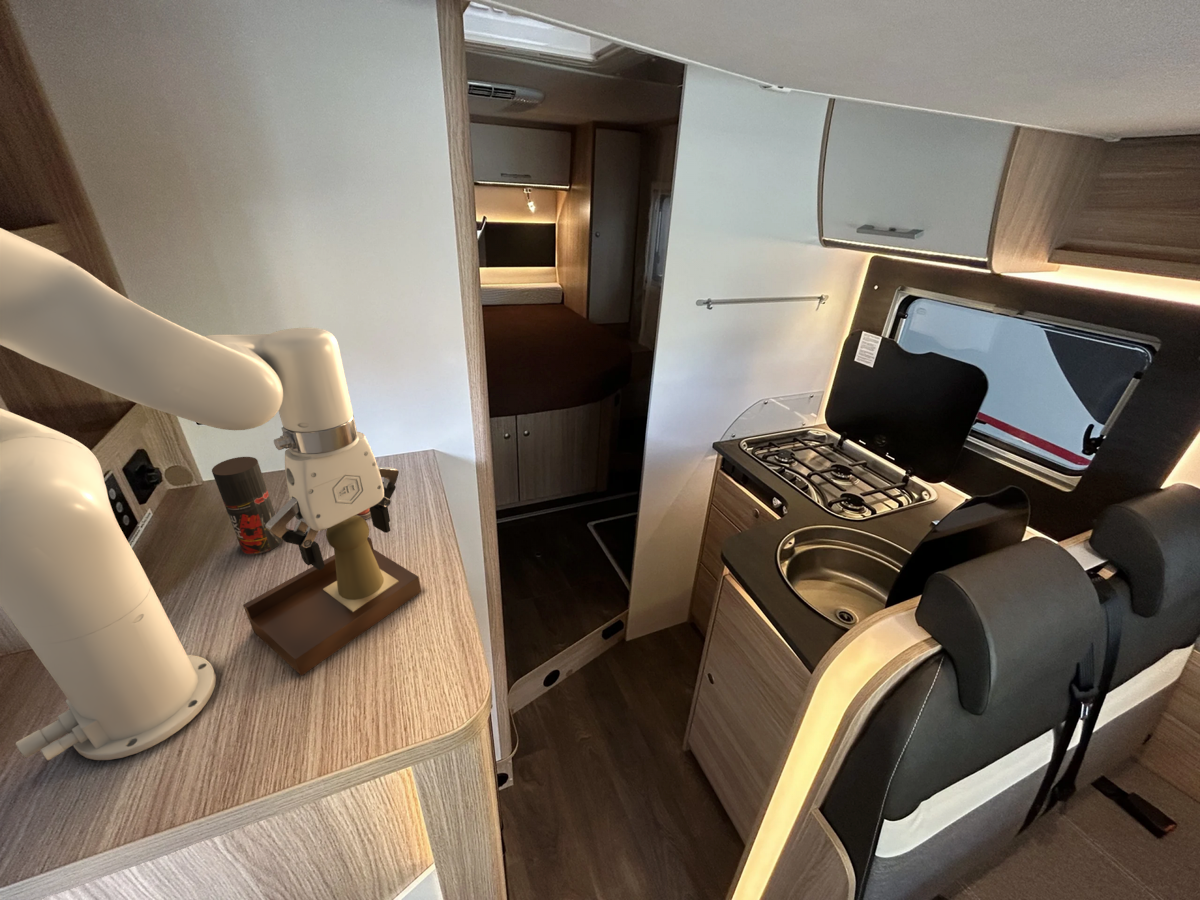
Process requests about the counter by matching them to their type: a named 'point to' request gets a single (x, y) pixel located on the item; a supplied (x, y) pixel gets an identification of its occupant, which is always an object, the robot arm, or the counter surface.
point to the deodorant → (246, 503)
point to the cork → (354, 559)
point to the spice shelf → (324, 611)
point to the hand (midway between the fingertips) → (350, 546)
